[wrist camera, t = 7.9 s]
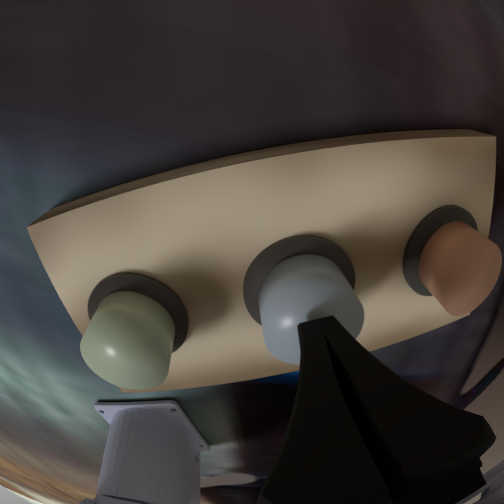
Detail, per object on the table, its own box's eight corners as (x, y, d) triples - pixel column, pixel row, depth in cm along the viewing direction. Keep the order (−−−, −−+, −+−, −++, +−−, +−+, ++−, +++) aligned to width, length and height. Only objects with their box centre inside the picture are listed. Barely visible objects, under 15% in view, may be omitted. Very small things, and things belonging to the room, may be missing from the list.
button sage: (186, 349, 14) (182, 386, 12) (118, 357, 14) (107, 391, 12) (157, 284, 12) (145, 320, 10) (83, 298, 12) (64, 331, 10)
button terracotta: (467, 279, 14) (491, 302, 12) (414, 297, 14) (436, 326, 12) (478, 215, 12) (508, 234, 10) (421, 228, 12) (451, 252, 10)
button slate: (345, 317, 14) (362, 351, 12) (265, 335, 14) (271, 373, 12) (343, 245, 12) (365, 275, 10) (249, 265, 12) (254, 300, 10)
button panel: (452, 295, 18) (472, 318, 16) (130, 366, 19) (121, 397, 16) (468, 129, 13) (500, 138, 10) (49, 209, 13) (22, 230, 11)
